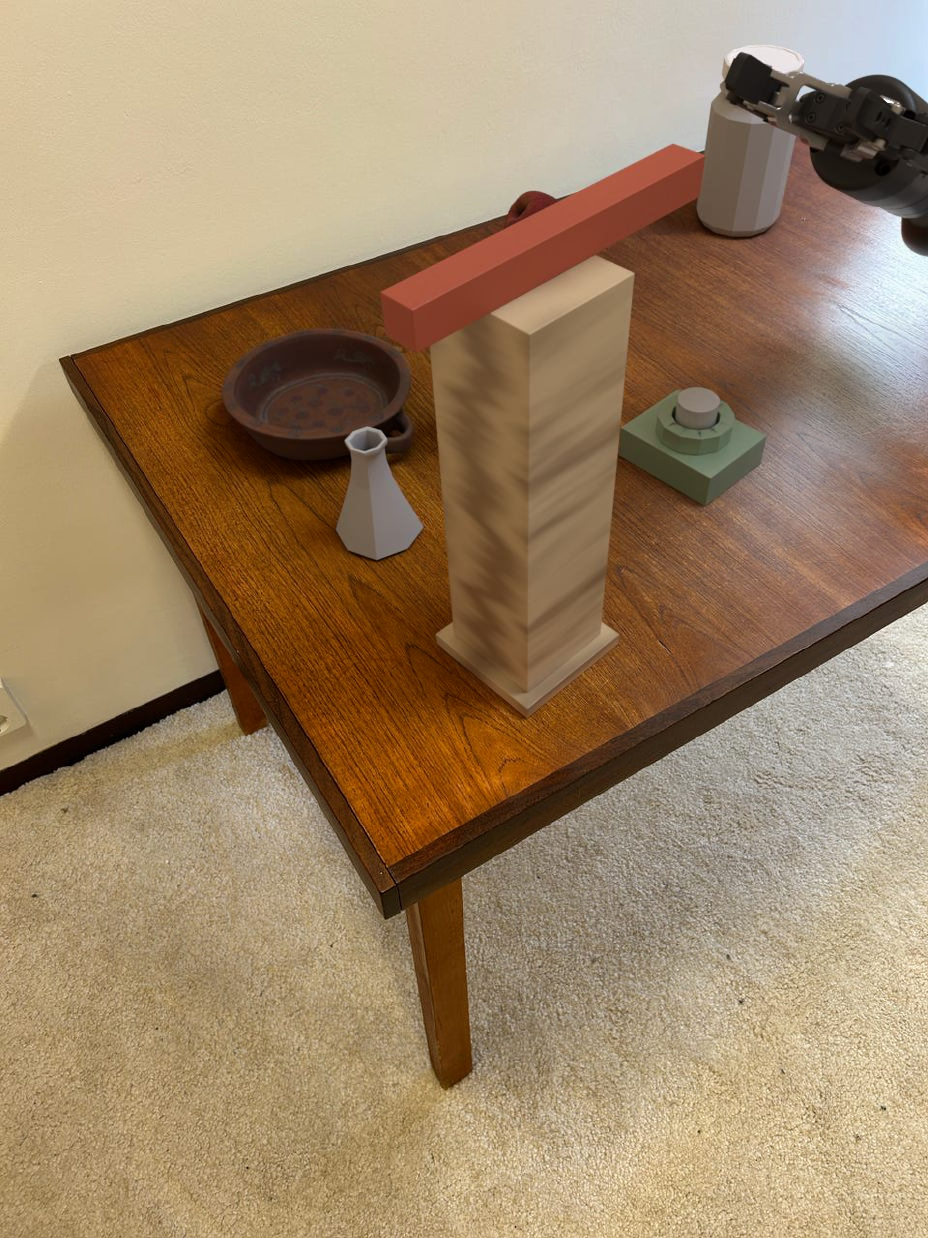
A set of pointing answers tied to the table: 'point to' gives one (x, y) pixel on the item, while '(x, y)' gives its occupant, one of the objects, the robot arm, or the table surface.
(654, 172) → the rod
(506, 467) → the stand
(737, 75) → the robot arm
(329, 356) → the dish
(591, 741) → the table surface
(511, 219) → the apple
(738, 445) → the green button base
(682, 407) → the grey push button
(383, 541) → the flask
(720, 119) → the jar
